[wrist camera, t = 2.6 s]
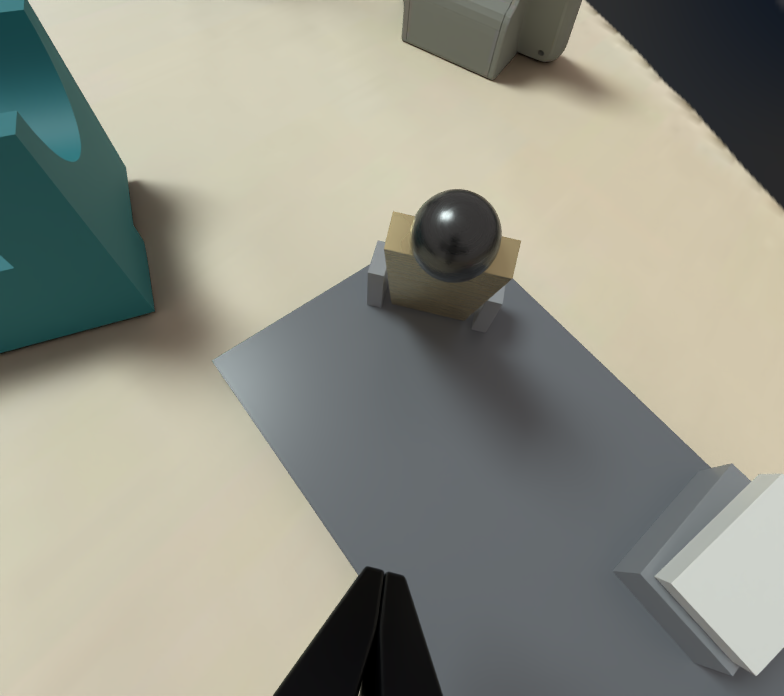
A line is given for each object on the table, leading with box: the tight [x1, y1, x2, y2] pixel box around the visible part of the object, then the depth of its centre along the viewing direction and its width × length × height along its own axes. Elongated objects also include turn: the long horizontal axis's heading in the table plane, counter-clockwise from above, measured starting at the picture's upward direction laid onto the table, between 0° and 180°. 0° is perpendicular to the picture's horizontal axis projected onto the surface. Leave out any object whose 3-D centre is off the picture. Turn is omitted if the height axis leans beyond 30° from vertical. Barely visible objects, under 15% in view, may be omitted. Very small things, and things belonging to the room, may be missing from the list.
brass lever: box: [384, 189, 521, 321], centre depth 17 cm, size 3×4×12 cm, turn 77°
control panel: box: [212, 241, 784, 696], centre depth 18 cm, size 16×33×4 cm, turn 39°
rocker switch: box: [655, 474, 784, 676], centre depth 16 cm, size 6×4×1 cm, turn 129°
